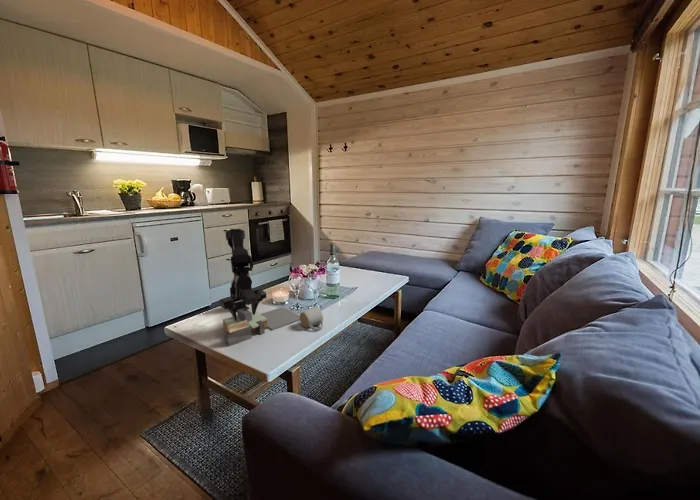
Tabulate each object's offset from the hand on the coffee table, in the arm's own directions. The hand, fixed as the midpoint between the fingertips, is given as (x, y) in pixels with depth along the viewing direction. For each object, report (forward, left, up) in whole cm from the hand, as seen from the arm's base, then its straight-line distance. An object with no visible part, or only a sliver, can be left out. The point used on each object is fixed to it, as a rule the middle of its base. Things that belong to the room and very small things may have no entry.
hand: (244, 317), depth 136 cm
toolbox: (+2, -2, -5) cm, 6 cm away
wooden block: (+8, -7, 0) cm, 10 cm away
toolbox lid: (+2, 0, -1) cm, 2 cm away
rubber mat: (0, +16, -5) cm, 17 cm away
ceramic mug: (+18, +23, -6) cm, 29 cm away
